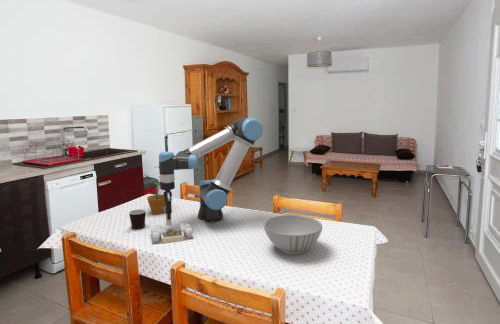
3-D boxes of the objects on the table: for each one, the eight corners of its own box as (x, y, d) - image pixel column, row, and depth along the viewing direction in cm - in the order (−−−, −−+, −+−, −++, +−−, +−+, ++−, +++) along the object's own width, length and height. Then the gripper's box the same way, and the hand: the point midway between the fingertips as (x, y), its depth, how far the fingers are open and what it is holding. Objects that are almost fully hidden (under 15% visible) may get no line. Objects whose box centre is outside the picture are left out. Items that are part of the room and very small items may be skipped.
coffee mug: (141, 232, 181) (140, 214, 179) (127, 231, 182) (125, 213, 181) (152, 225, 192) (151, 208, 190) (138, 224, 194) (137, 207, 192)
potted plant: (163, 206, 227) (160, 162, 222) (177, 212, 213) (175, 165, 208) (137, 212, 215) (134, 165, 210) (151, 219, 201) (148, 169, 196)
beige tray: (189, 231, 182) (189, 221, 181) (194, 241, 169) (193, 230, 168) (150, 236, 176) (150, 225, 175) (152, 247, 163) (151, 235, 162)
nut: (166, 233, 176) (165, 229, 176) (175, 232, 178) (175, 228, 177) (166, 236, 172) (166, 232, 172) (176, 235, 174) (176, 231, 173)
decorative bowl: (308, 267, 141) (308, 240, 139) (253, 253, 155) (252, 227, 153) (329, 244, 164) (330, 220, 161) (279, 234, 178) (280, 211, 175)
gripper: (158, 179, 183) (160, 221, 187) (160, 184, 171) (162, 229, 175) (173, 178, 185) (174, 220, 189) (176, 183, 173) (177, 228, 177)
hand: (168, 224), depth 182 cm, fingers closed
